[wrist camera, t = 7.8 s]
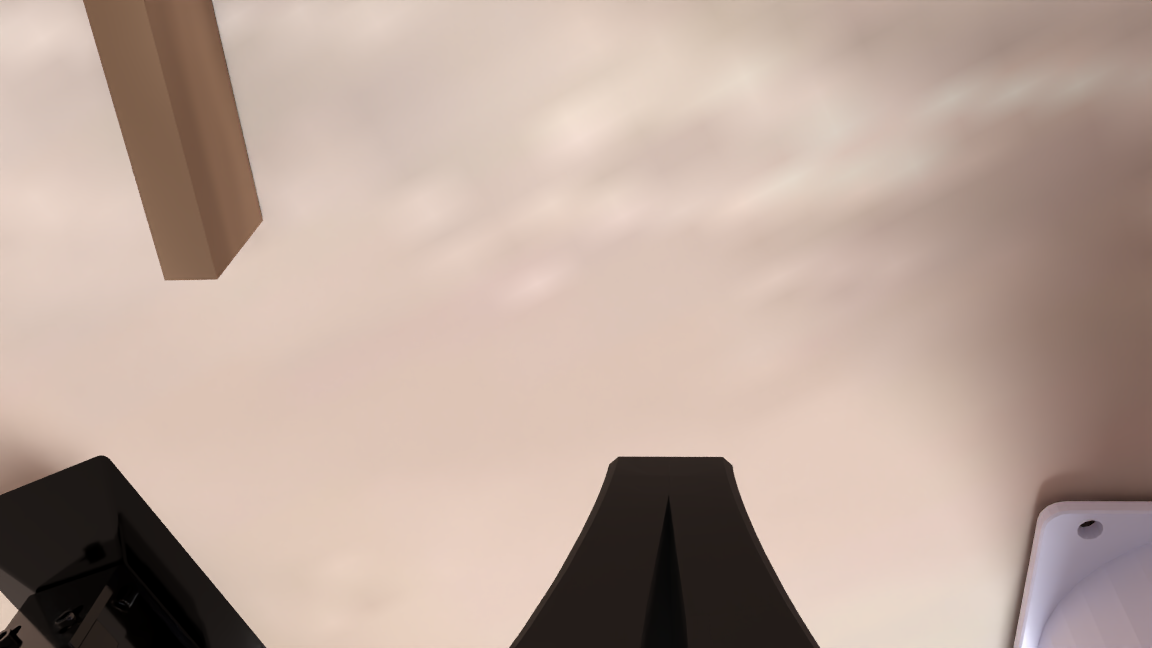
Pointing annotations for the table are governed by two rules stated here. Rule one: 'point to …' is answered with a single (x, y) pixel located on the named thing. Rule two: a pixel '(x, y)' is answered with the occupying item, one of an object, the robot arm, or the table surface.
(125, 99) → the box
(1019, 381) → the table surface
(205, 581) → the black angled piece
